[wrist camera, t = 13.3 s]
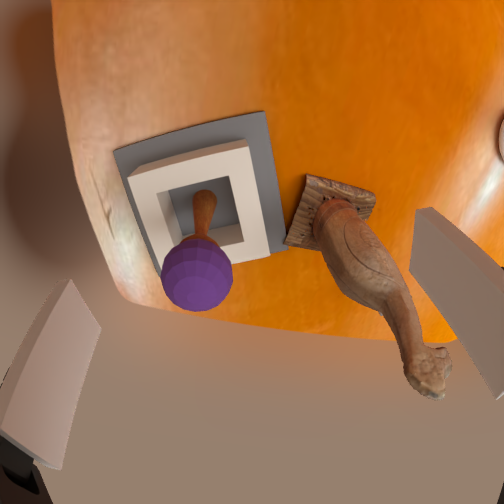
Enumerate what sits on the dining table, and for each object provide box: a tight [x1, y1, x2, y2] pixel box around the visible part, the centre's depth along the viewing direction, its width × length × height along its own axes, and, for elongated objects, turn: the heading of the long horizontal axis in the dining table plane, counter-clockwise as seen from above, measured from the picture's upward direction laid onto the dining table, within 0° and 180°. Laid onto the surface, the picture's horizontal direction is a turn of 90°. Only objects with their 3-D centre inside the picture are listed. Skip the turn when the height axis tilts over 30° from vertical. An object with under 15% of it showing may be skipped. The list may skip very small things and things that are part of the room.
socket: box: [113, 111, 289, 277], centre depth 37 cm, size 20×20×6 cm
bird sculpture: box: [283, 174, 452, 400], centre depth 30 cm, size 11×12×32 cm
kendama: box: [160, 189, 233, 312], centre depth 31 cm, size 6×6×20 cm
